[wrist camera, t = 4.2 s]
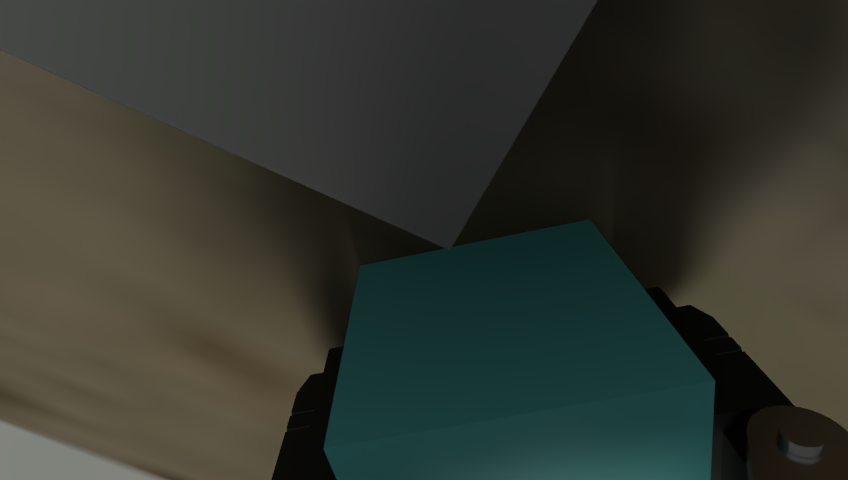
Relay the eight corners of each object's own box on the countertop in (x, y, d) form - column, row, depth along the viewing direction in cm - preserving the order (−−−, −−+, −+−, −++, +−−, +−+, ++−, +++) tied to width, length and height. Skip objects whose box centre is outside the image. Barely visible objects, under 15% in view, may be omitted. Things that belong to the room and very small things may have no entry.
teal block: (360, 263, 11) (322, 449, 7) (589, 217, 11) (715, 380, 6) (411, 426, 13) (410, 649, 9) (603, 393, 13) (704, 608, 8)
